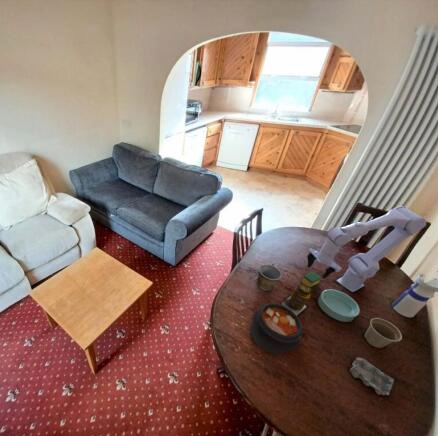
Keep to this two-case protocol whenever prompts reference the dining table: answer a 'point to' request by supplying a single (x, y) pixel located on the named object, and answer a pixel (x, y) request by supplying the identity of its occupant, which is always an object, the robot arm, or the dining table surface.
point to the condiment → (298, 299)
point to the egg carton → (372, 376)
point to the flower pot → (382, 333)
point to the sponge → (311, 279)
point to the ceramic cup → (268, 276)
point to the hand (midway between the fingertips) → (316, 271)
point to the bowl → (338, 305)
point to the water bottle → (415, 296)
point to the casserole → (276, 328)
